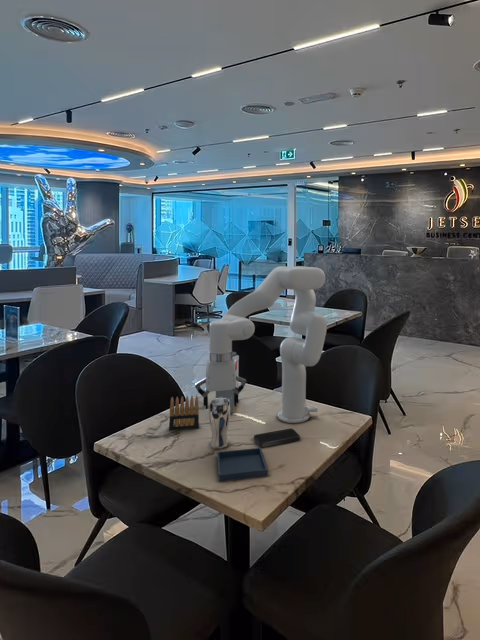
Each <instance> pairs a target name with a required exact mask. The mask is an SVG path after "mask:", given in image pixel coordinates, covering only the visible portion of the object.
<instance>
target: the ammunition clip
mask: <svg viewBox="0 0 480 640" xmlns="http://www.w3.org/2000/svg"><path fill="white" fill-rule="evenodd" d="M184 400H185V401H184ZM169 404H170V405H169V422H168V423H169V425H168V431H182V430H194V429H195V430H197V429H199V428H200V405H199V396H198V395H195V399H194V396H193V395H191V397H190V400H189V396H188V395H187V396H186V397H185V399H184V396H183V395H182V396H181V398H180V401H179V397H178V396H176V398H175V400H174V397H173V396H171V397H170V403H169Z"/></svg>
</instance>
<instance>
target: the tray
mask: <svg viewBox="0 0 480 640" xmlns="http://www.w3.org/2000/svg"><path fill="white" fill-rule="evenodd" d="M216 459H217V461H216V462H217V471H218V481H219V482H227V481H236V480H244V479H253V478H262V477H268V475H269V469H268V465H267V462H266V459H265V455H264V453H263V449H262V447H255V448H244V449H235V450H224V451H217V452H216Z"/></svg>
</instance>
